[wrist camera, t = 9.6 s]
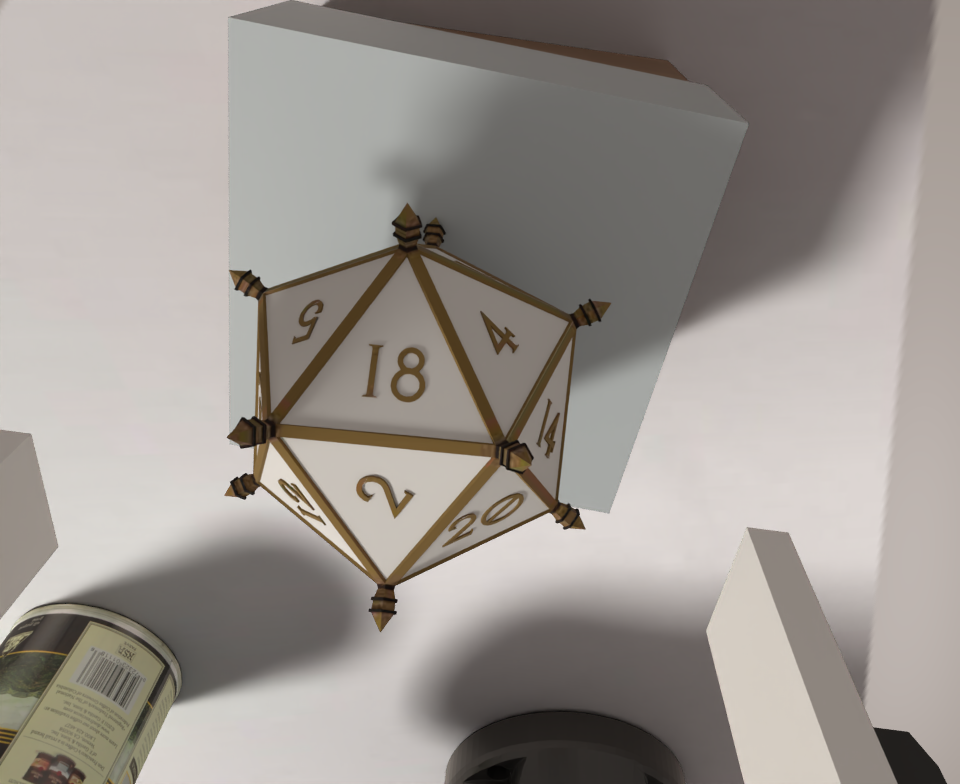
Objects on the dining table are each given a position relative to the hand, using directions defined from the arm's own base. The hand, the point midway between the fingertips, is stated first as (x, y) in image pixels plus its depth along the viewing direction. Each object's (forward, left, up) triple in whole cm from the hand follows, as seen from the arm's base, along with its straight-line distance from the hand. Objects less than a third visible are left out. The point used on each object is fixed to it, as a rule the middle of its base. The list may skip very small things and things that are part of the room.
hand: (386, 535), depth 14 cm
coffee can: (-30, +19, -18) cm, 39 cm away
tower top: (+1, 0, -13) cm, 13 cm away
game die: (+1, 0, -8) cm, 8 cm away
